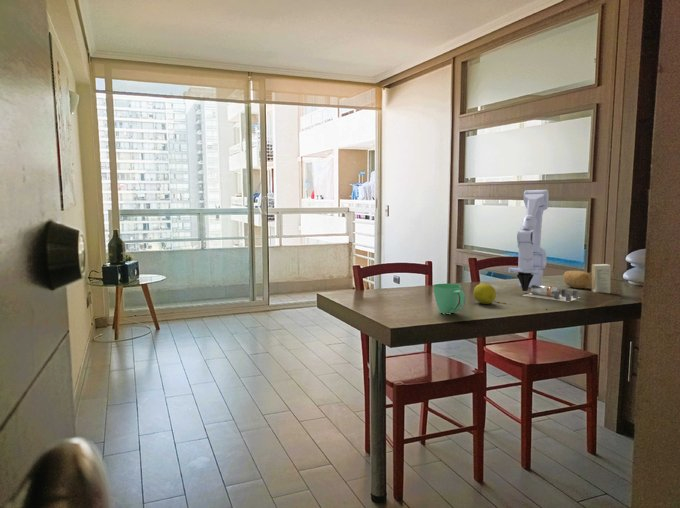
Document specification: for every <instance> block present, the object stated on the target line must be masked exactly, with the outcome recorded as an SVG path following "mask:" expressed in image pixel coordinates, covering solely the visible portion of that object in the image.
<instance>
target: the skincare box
mask: <svg viewBox="0 0 680 508" xmlns="http://www.w3.org/2000/svg"><path fill="white" fill-rule="evenodd" d="M611 266H612V265H611V264H608V263H600V264H594V263H593V264H591V278H592V279H591V292H593V293H605V294H611V274H612V273H611V272H612V270H611Z"/></svg>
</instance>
